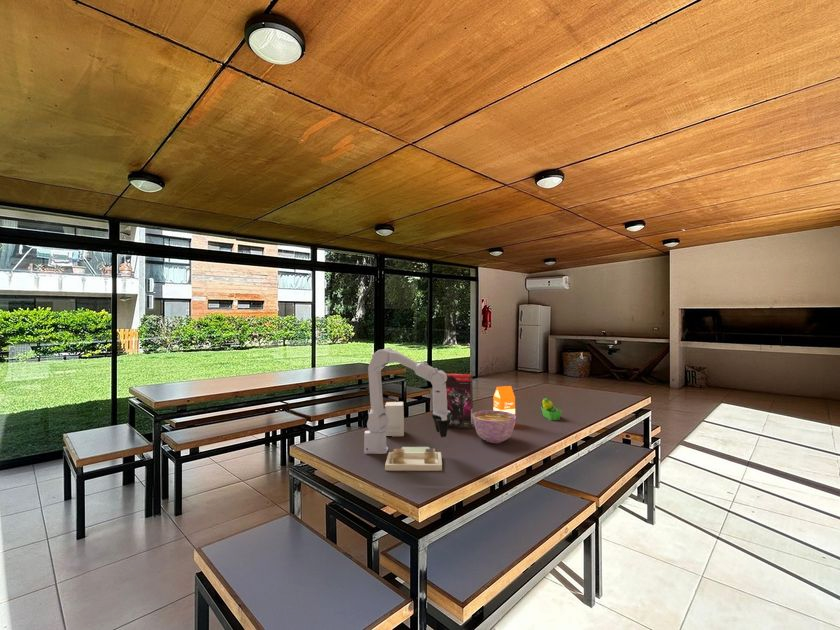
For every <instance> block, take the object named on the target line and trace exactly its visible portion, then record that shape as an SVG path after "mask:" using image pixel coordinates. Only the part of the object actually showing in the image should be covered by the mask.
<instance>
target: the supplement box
mask: <svg viewBox="0 0 840 630" xmlns="http://www.w3.org/2000/svg"><path fill="white" fill-rule="evenodd" d="M384 408H385V410H386V415H387V416H388V424H387V425H386V436H392V437H404V436H405V416H404V415H405V414H404V413H405V411H404V408H405V407H404V401H386V402H385V405H384Z"/></svg>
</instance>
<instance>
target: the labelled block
mask: <svg viewBox="0 0 840 630" xmlns="http://www.w3.org/2000/svg"><path fill="white" fill-rule="evenodd" d="M435 452H436V451H435V448H429V449H424V464H435Z"/></svg>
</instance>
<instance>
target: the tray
mask: <svg viewBox="0 0 840 630" xmlns="http://www.w3.org/2000/svg"><path fill="white" fill-rule="evenodd" d="M442 459H443V458H442V452H441V451H435V464H424V452H404V464H393V451H389V452H387V456H386V461H385V464H384V470H385V471H390V472H391V471H393V472H394V471H403V472H404V471H411V472H412V471H415V472H416V471H421V472H423V471H426V472H429V471H434V472H435V471H437V472H438V471H440V472H441V471H443V461H442Z"/></svg>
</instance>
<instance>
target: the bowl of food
mask: <svg viewBox="0 0 840 630" xmlns="http://www.w3.org/2000/svg"><path fill="white" fill-rule="evenodd" d="M516 421H517V416H516V414H515V415H514V414H512V413H509V412H504V411H493V410H490V409H489V410H480V411H479V410H478V411H476V412H473V425H474V428H475V432H476V434H477V435H478V437H479V438H481V439H482V440H484V441H485V440H486V441H485V442H486V443H489V442H490V443H491V444H501V443H503V442H504V441H505V442H506V440H508V439H510V438H511V436H512V435H513V432H514V428H515V426H516Z"/></svg>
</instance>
